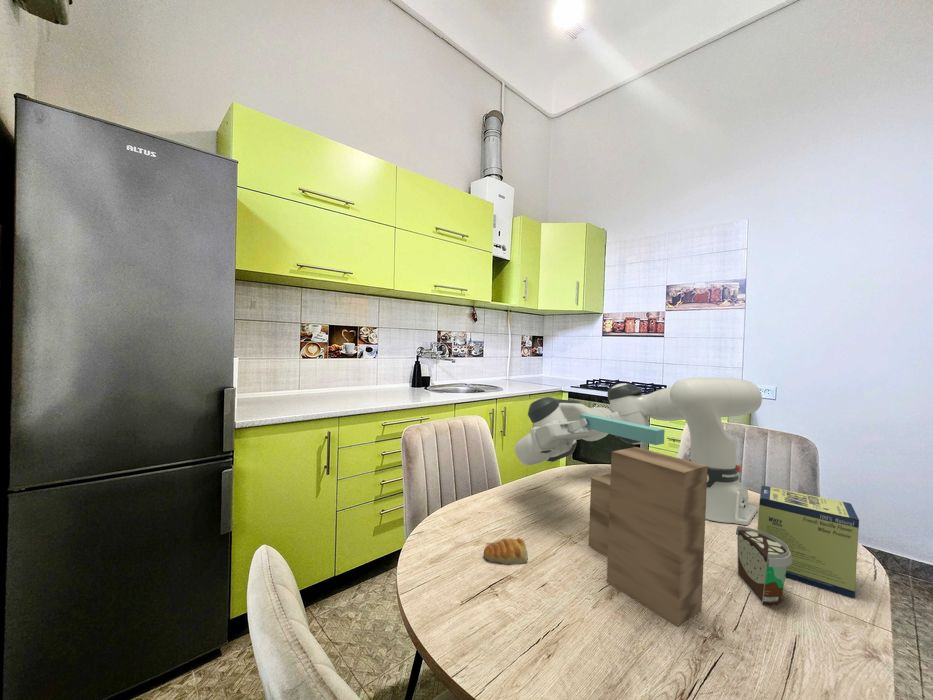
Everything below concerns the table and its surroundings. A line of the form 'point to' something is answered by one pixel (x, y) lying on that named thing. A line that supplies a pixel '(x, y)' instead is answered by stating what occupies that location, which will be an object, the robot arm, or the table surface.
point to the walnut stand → (652, 529)
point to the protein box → (813, 537)
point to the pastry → (507, 551)
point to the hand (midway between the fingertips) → (593, 420)
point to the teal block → (625, 429)
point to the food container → (762, 564)
